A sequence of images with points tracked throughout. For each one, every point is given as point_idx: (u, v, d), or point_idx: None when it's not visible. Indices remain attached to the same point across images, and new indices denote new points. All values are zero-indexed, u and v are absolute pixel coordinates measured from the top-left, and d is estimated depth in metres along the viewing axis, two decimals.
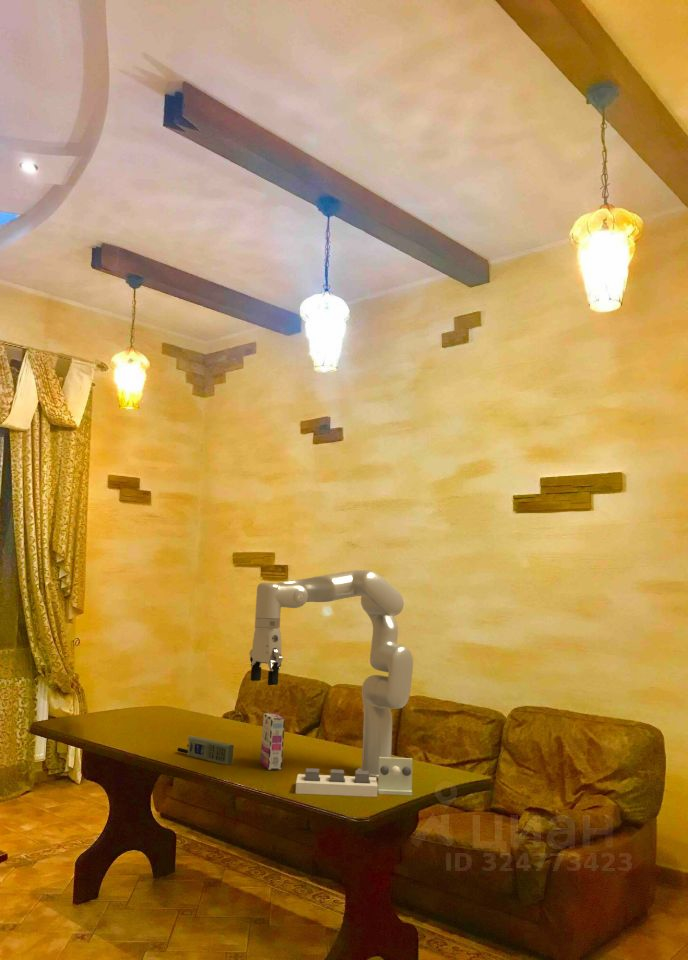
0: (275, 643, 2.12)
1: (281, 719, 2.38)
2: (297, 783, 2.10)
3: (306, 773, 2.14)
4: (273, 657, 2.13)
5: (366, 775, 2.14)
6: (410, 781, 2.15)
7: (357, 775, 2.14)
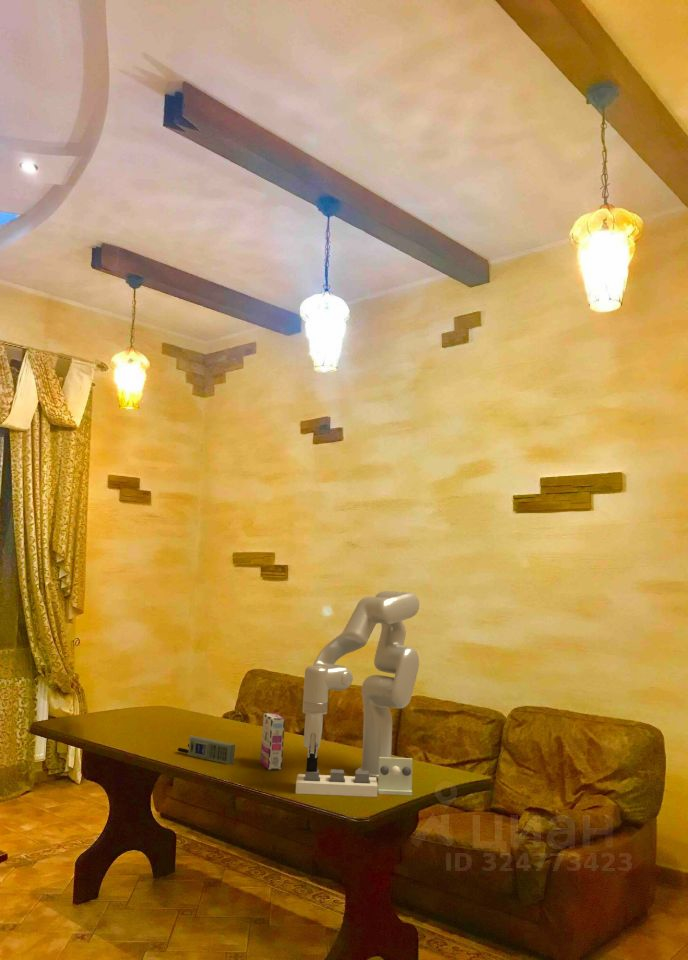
0: None
1: (281, 719, 2.38)
2: (297, 783, 2.10)
3: (306, 774, 2.14)
4: None
5: (366, 775, 2.14)
6: (410, 781, 2.15)
7: (357, 775, 2.14)
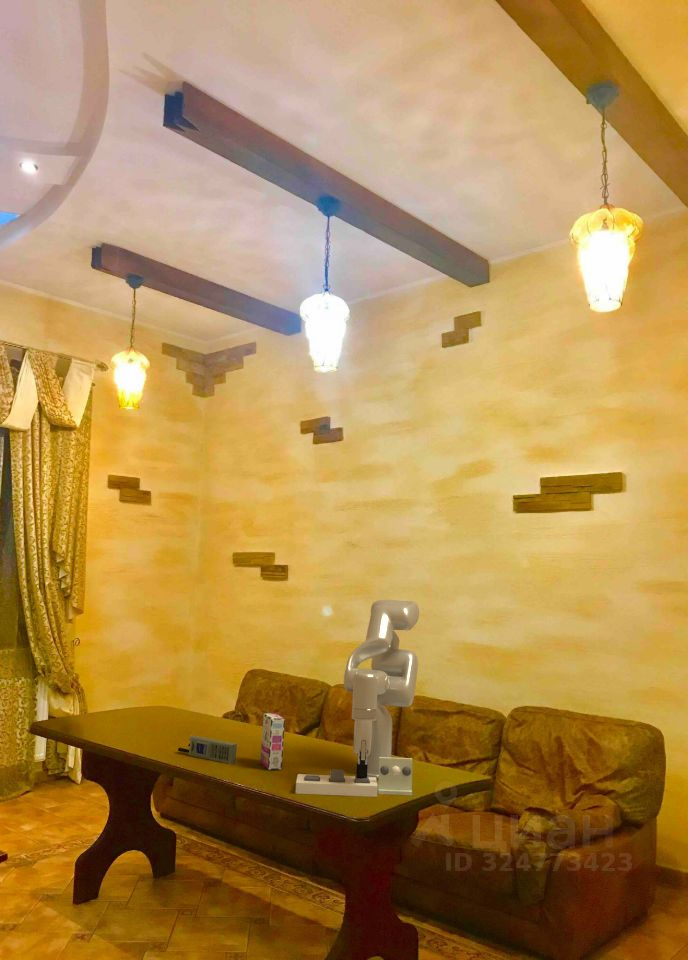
0: None
1: (281, 719, 2.38)
2: (297, 783, 2.10)
3: (306, 780, 2.13)
4: None
5: (366, 780, 2.13)
6: (410, 781, 2.15)
7: (357, 780, 2.13)
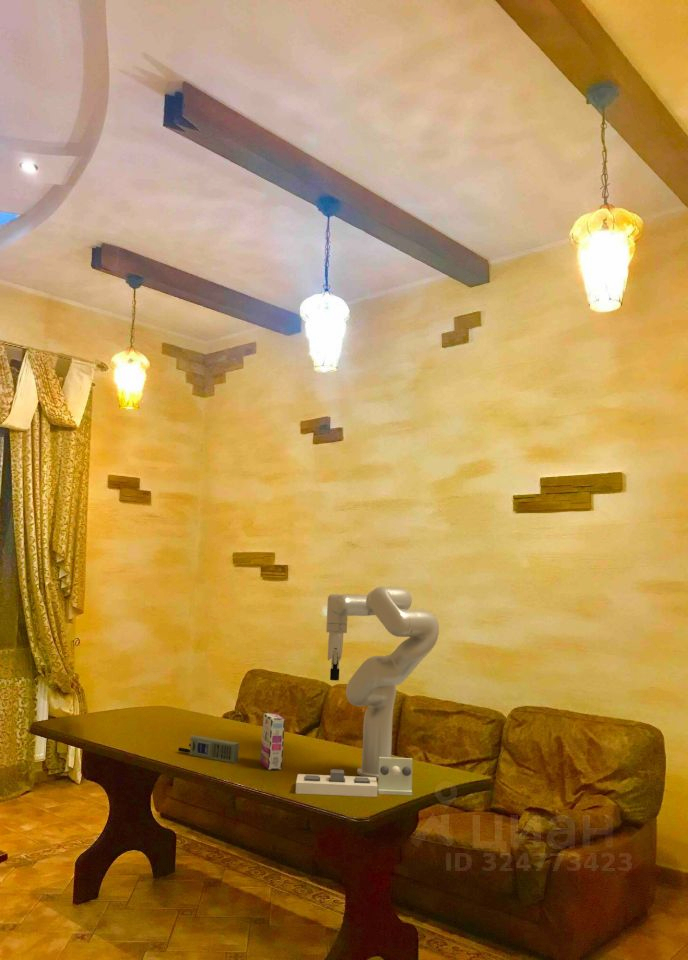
0: None
1: (281, 719, 2.38)
2: (297, 783, 2.10)
3: (306, 780, 2.13)
4: None
5: (366, 782, 2.13)
6: (410, 781, 2.15)
7: (357, 782, 2.13)
